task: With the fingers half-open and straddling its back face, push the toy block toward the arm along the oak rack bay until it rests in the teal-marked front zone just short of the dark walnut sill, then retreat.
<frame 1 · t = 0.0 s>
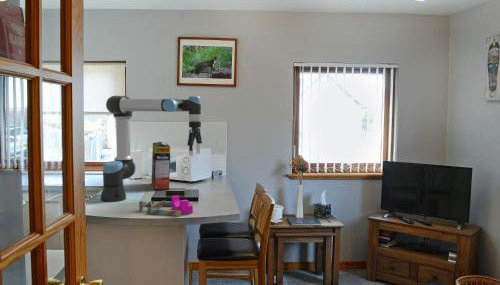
hand: (195, 154, 262), 28 cm above the countertop, fingers open, 13 cm apart
winch drum: (145, 210, 233), on the countertop
toy block: (182, 211, 233), on the countertop
rack bay: (172, 210, 234), on the countertop
cereal box: (160, 186, 303), on the countertop
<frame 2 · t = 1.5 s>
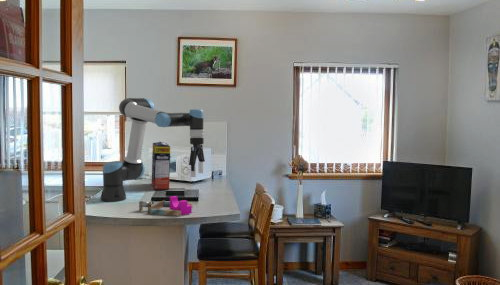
hand: (197, 175, 233), 20 cm above the countertop, fingers open, 13 cm apart
toy block: (180, 212, 232), on the countertop
everything else where it was.
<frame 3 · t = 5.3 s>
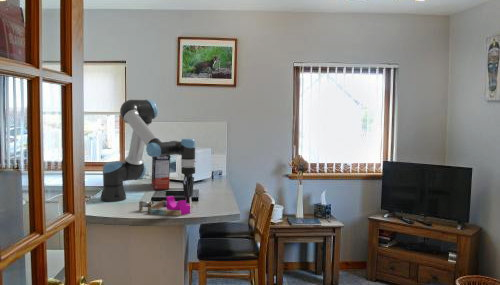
hand: (188, 208, 232), 2 cm above the countertop, fingers closed
toy block: (178, 212, 232), on the countertop, touching gripper
everything else where it was.
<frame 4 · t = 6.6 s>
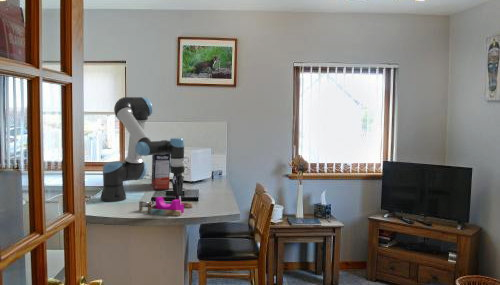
hand: (178, 207, 234), 2 cm above the countertop, fingers closed
toy block: (169, 212, 231), on the countertop, touching gripper, rack bay
everything else where it was.
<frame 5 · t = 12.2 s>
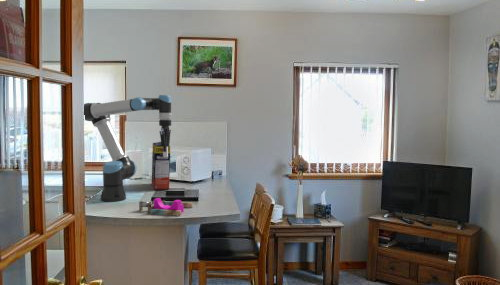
hand: (165, 156, 264), 26 cm above the countertop, fingers closed
toy block: (168, 212, 230), on the countertop
everything else where it was.
at the end: toy block inside the target area (5.2 cm from its centre), on the countertop; toy block moved 7.7 cm from its start; toy block tilted 0° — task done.
